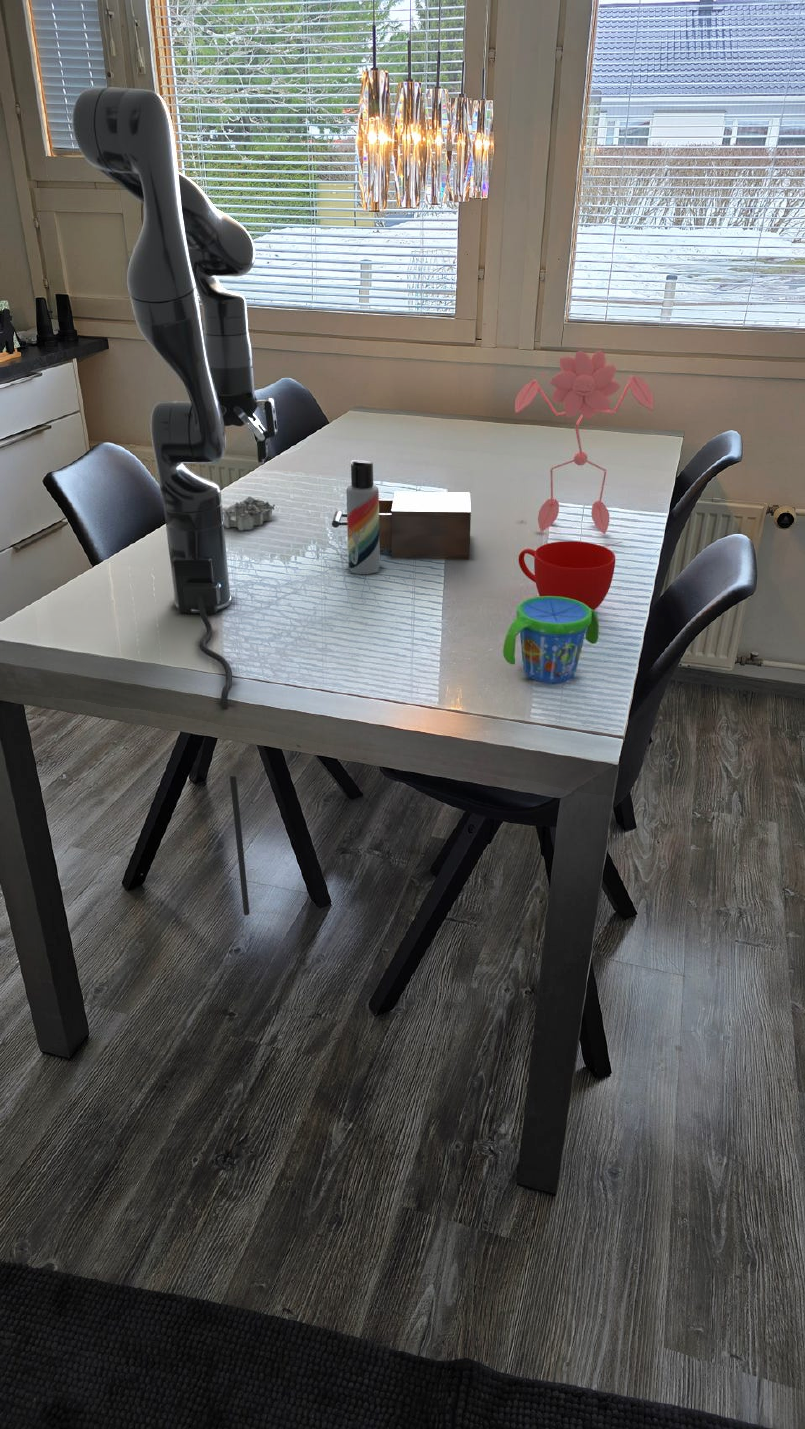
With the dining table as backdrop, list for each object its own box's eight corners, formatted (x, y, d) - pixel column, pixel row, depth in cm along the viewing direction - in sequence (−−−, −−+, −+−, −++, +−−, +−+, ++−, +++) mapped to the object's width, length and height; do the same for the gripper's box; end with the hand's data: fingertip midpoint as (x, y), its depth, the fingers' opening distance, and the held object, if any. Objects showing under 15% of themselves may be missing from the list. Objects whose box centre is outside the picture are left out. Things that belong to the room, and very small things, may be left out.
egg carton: (245, 532, 201) (244, 513, 199) (217, 526, 205) (215, 506, 203) (279, 518, 209) (277, 499, 207) (251, 512, 212) (249, 493, 210)
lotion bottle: (342, 571, 182) (339, 462, 172) (358, 561, 186) (355, 454, 177) (370, 576, 180) (368, 466, 170) (385, 566, 184) (384, 458, 174)
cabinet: (391, 558, 188) (391, 511, 184) (394, 536, 199) (394, 491, 194) (469, 559, 188) (470, 512, 183) (468, 537, 198) (469, 492, 194)
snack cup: (575, 650, 153) (581, 587, 148) (614, 678, 145) (622, 614, 140) (484, 668, 148) (487, 604, 143) (520, 699, 139) (524, 632, 134)
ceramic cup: (537, 585, 176) (541, 530, 171) (624, 609, 167) (630, 552, 162) (495, 608, 167) (498, 551, 162) (584, 634, 158) (589, 575, 153)
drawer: (331, 551, 189) (329, 514, 185) (337, 532, 198) (335, 496, 195) (425, 552, 188) (425, 515, 184) (426, 533, 197) (426, 497, 194)
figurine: (510, 520, 207) (519, 342, 190) (637, 527, 203) (658, 346, 186) (503, 545, 194) (512, 356, 177) (639, 553, 190) (661, 361, 173)
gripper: (179, 365, 161) (190, 466, 169) (267, 367, 160) (273, 468, 168) (192, 357, 167) (202, 454, 175) (276, 358, 166) (282, 456, 174)
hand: (237, 461), depth 171 cm, fingers open, 8 cm apart
